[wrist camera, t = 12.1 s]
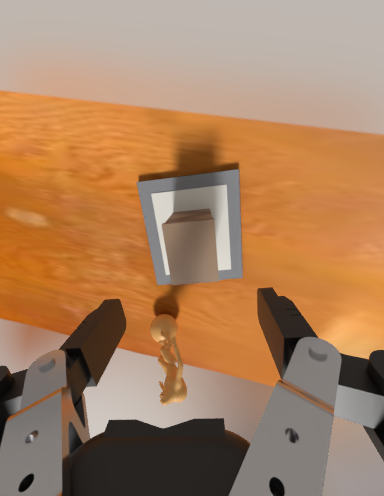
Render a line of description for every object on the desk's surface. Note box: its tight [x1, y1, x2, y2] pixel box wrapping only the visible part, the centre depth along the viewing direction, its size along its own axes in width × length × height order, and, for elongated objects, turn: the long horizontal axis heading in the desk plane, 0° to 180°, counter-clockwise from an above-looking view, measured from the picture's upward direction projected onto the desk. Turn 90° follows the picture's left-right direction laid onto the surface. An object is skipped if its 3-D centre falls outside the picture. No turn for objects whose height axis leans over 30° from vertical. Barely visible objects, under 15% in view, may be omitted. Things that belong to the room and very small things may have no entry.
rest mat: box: [137, 169, 243, 285], centre depth 25 cm, size 12×14×1 cm
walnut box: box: [162, 208, 219, 285], centre depth 21 cm, size 5×6×7 cm
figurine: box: [150, 314, 187, 405], centre depth 25 cm, size 8×6×12 cm
